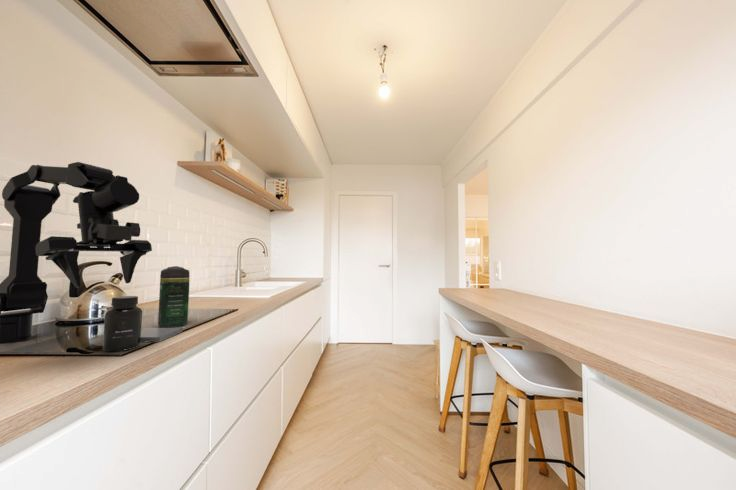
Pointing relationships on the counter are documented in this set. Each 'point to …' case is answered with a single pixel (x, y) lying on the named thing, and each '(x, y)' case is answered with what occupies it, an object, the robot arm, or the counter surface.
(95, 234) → the robot arm
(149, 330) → the coaster
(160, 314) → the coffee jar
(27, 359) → the counter surface
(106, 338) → the supplement bottle
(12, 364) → the counter surface
